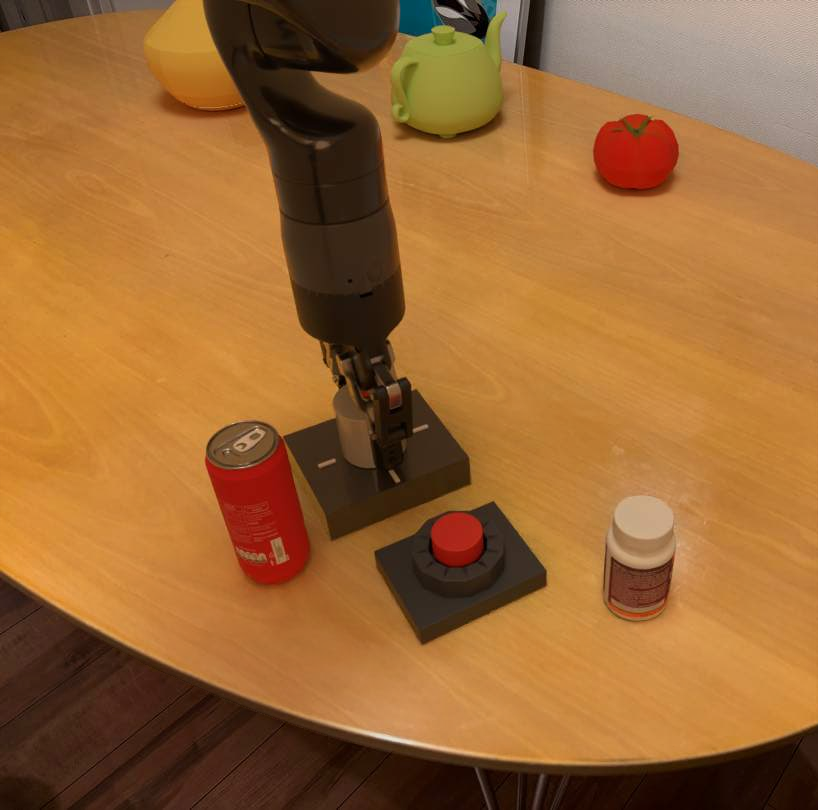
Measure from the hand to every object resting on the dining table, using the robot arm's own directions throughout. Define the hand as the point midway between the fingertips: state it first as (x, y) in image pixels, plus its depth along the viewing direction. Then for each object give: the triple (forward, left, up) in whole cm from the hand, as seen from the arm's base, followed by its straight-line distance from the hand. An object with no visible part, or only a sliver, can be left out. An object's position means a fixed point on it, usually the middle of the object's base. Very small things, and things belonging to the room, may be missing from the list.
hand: (373, 441), depth 71 cm
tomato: (+49, +33, -4) cm, 59 cm away
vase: (+11, +87, -4) cm, 88 cm away
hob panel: (0, 0, -4) cm, 4 cm away
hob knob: (0, 0, 0) cm, 0 cm away
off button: (+1, -13, 0) cm, 13 cm away
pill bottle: (+11, -21, -4) cm, 24 cm away
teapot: (+38, +62, -4) cm, 73 cm away
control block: (+1, -13, -4) cm, 14 cm away
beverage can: (-10, -5, -4) cm, 12 cm away
